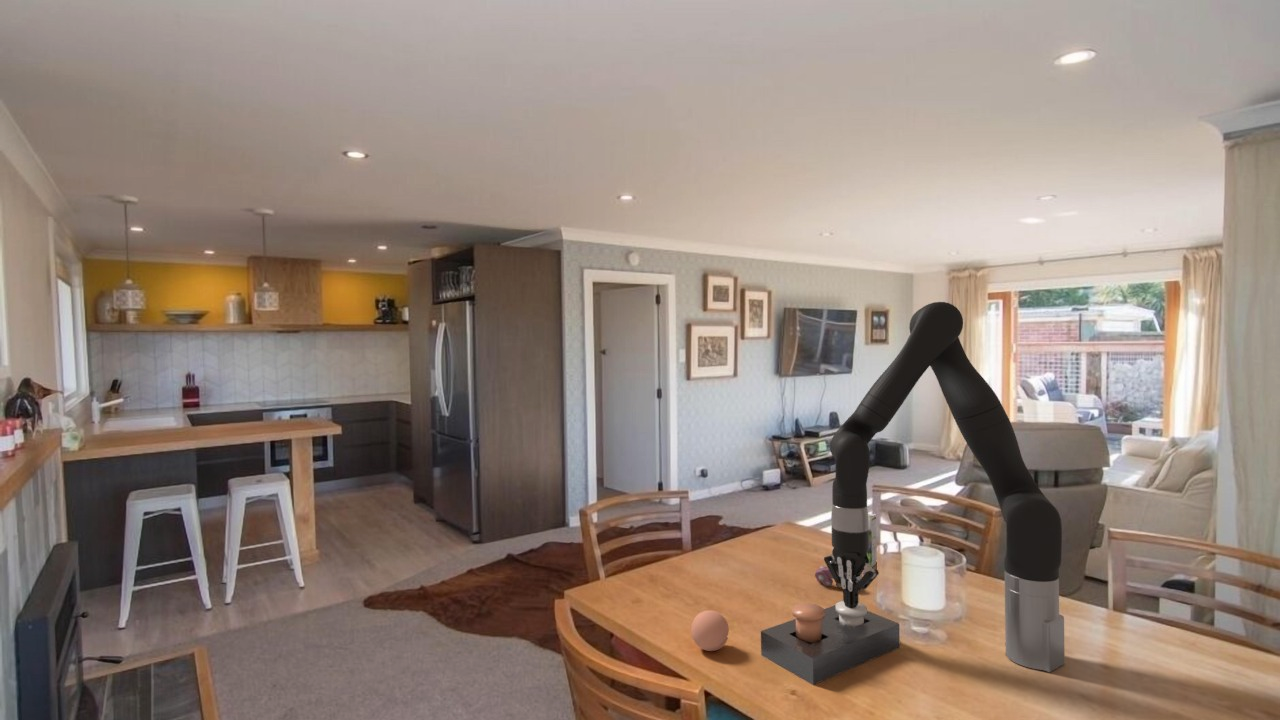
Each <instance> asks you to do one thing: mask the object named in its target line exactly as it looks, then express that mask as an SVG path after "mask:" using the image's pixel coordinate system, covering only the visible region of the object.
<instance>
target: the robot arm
mask: <svg viewBox="0 0 1280 720" xmlns="http://www.w3.org/2000/svg"><path fill="white" fill-rule="evenodd" d="M963 327H964V318H963V315H962V313H961V312H960V310H959V308H958V307H957V306H955V305H954V304H952V303H950V302H945V301H935V302H931V303H928V304H926V305H924V306H922V307H921V308H919V309H917V311H916V312H914V314H913V315H912V317H911V319H910V322H909V333H910V334H909V336H908V338H907V340H906V342H905V344H904V345H903V346H902V348H901V350H900V351H899V353H898V354H897V356H896V357H895V358H894V360H893V361H891V363H890V365H888V367H887V368H886V369H885V370H884V371H883V372H882V374H881V375H879V377H878V379H876V380H875V382H874V383H873V384H872V386H871V387H870V388H869V390H868V391H867V393H866V394H865V395H864V397H862V400H861V401H860V403H859V404H858V405H857V407H856V409H855V411H854V412H853V413H852V414H851V415H850V416H849V417H847V419H846V420H845V421H844V423H843V424H842V425H840V427H839V428H838V429H837V430H836V432H835V433H834V435H833V436H832V438H831V439H830V440H831V441H830V443H829V451H830V454H831V456H832V457H833V458H834V459H835V460H834V461H835V462H834V463H835V478H834V479H833V481H832V487H831V488H832V489H831V490H832V492H831V493H832V498H831V499H832V508H831V520H830V521H831V546H832V547H833V549H832V552H831V553H832V554H830V555H828V556H827V555H826V556H825V557H823V560H824V563H825V565H826V567H828V569H829V571H830V573H831V575H832V576H833V578H834V579H833V580H834V582H835V584H836V583H837V584H838V583H839V584H840V585H841V586H842V588H843V589H842V593H843V594H842V595H843V597H842V599H843V600H842V601H844V603H845V606H846V607H849V608H854V607H856V606H857V605H858V602H859V592H860V591H863V590H866V589H867V588H868V587H869V586H870V584H872V582H873V581H874V580H875V579H876V578H877V577H878V575H879V574H880V573H879V570H878V569H876V568H875V569H873V567H871V566H870V565H869V559H868V556H867V551H868V548H869V518H868V514H869V511H868V490H867V489H868V488H867V484H868V483H867V482H868V477H869V471H870V462H871V461H870V459H871V456H870V454H871V453H870V448H869V443H870V442H871V440H872V439H873V438H874V437H875V435H876V434H878V433H881V432H882V431H884V430H885V429H886V427H888V425H889V424H890V422H891V421H892V419H893V418H895V417H894V416H895V415H896V414H897V412H898V411H899V409H900V407H902V405H903V404H904V402H905V401H906V399H907V398H908V396H909V395H910V393H911V392H912V390H913V389H914V388H915V386H916V384H917V383H918V382H919V380H920V378H922V376H923V374H924V373H926V371H927V369H929V367H930V368H931V370H932V371H933V373H934V375H935V378H936V380H937V382H938V385H939V387H940V390H941V392H942V394H943V397H944V399H945V401H946V404H947V406H948V409H949V410H950V412H951V414H952V415H951V416H952V418H953V419H954V421H955V423H956V425H957V428H958V429H959V431H960V434H961V435H962V437H963V439H964V441H965V442H966V444H967V446H968V447H969V449H970V451H971V452H972V454H973V455H974V457H975V459H976V460H977V462H978V463H979V464H980V466H981V468H982V469H983V470H984V472H985V473H986V475H987V477H988V479H989V481H990V483H991V486H992V489H993V491H994V494H995V496H996V499H997V502H998V505H999V508H1000V512H1001V514H1002V518H1003V521H1004V522H1005V527H1006V531H1005V532H1006V549H1005V550H1006V552H1005V557H1004V563H1003V565H1004V625H1005V628H1004V629H1005V630H1004V631H1005V636H1004V637H1005V642H1004V645H1005V656H1006V657H1007V658H1008V659H1009V660H1010V661H1011V662H1013V663H1016V664H1018V665H1020V666H1023V667H1025V668H1030V669H1034V670H1040V671H1045V672H1047V673H1052V672H1053V671H1055V670H1057V669H1059V668H1060V667H1062V666H1064V665H1065V662H1066V661H1065V655H1066V654H1065V653H1066V652H1065V616H1064V615H1063V614H1060V578H1059V577H1060V568H1061V565H1062V553H1063V552H1062V549H1063V548H1062V545H1063V541H1062V540H1063V536H1062V535H1063V533H1062V532H1063V526H1062V519H1061V515H1060V513H1059V510H1058V509H1057V507H1055V505H1054V504H1053V503H1052V502H1051V501H1050V500H1049V499H1048V498H1047V497H1046V495H1045V494H1044V493H1043V492H1042V490H1041V489H1040V488H1039V486H1038V484H1037V482H1036V481H1035V479H1034V477H1033V476H1032V474H1031V473H1030V471H1029V469H1028V467H1027V466H1026V464H1025V462H1024V459H1023V457H1022V456H1023V455H1022V453H1021V449H1020V446H1019V442H1018V438H1017V435H1016V433H1015V430H1014V428H1013V424H1012V423H1011V420H1010V419H1009V418H1010V417H1009V416H1008V414H1007V413H1006V410H1005V408H1004V406H1003V404H1002V402H1001V400H1000V399H999V397H998V395H997V394H996V393H995V391H994V390H993V388H992V387H991V385H990V384H989V383H988V382H987V380H985V378H984V377H983V376H982V375H981V374H980V373H979V372H978V370H977V369H976V368H975V366H974V365H973V364H972V363H971V361H970V359H969V358H968V356H967V353H966V351H965V350H964V347H963V345H962V343H961V340H960V335H961V333H962V330H963ZM837 573H838V574H839V576H838V574H837Z"/></svg>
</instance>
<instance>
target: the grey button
mask: <svg viewBox="0 0 1280 720" xmlns="http://www.w3.org/2000/svg"><path fill="white" fill-rule="evenodd" d="M835 605H836V612H837V613H838V614H839V621H840V622H842V623H844V624H846V625H849V626H851V627H853V628H854V627H856V626H859V625H862V624H864V616H866V615H867V611H868V607H867V606H866V605H865V604H864V603H861V602H859V601H858V605H857V606H856V607H854V608H849V607H846V606H845V603H844V601H843V600H840V601H838V602H836V603H835Z"/></svg>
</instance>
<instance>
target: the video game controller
mask: <svg viewBox="0 0 1280 720" xmlns="http://www.w3.org/2000/svg"><path fill="white" fill-rule="evenodd" d="M837 574H838V573H837ZM838 576H839V574H838ZM814 577H815V579H816V581H817V582H818V583H822V584H823V585H824V586H826V587H828V588H829V587H832V586H833V584H834V583H833V582H834V581H833V580H834V578H833V576H832V575H831V573H830V571H829V569H828V567H827V566H823V565H820V567H818V568H817V569H816V570H815V572H814ZM835 586H836V588H838V589H842V590H843V588H842V586H841V585H840V584H839V583H838V584H837V583H836V582H835Z"/></svg>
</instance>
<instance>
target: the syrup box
mask: <svg viewBox="0 0 1280 720" xmlns="http://www.w3.org/2000/svg"><path fill="white" fill-rule="evenodd" d="M868 518H869V548H868V551H867V556H868V559H869V565H870V566H871V567H872V568H873V567H874V566H875V565H876V564H877V563H876V560H877V559H878V558H877V557H878V555H877V554H878V553H877V514H876V513H873V514H872V513H868ZM877 561H878V560H877Z"/></svg>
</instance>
